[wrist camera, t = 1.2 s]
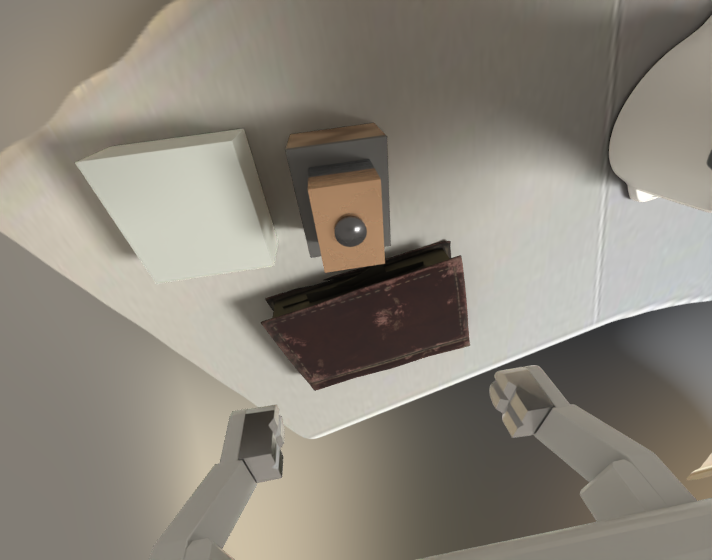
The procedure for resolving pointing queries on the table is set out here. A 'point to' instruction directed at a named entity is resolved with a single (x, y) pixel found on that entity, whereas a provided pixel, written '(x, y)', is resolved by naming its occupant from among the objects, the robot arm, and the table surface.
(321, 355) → the diary
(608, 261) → the table surface
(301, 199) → the walnut stand
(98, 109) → the table surface
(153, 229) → the grey stand
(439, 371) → the table surface
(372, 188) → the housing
